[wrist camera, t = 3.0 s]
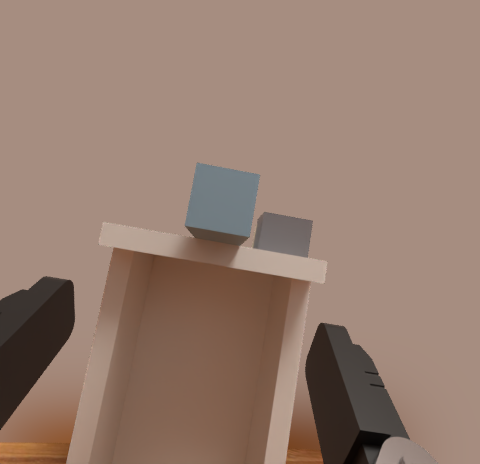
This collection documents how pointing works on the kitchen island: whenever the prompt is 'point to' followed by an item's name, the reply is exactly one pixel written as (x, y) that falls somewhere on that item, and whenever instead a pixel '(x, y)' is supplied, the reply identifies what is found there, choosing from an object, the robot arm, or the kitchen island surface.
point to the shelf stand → (193, 352)
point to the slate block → (222, 204)
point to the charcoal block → (283, 234)
